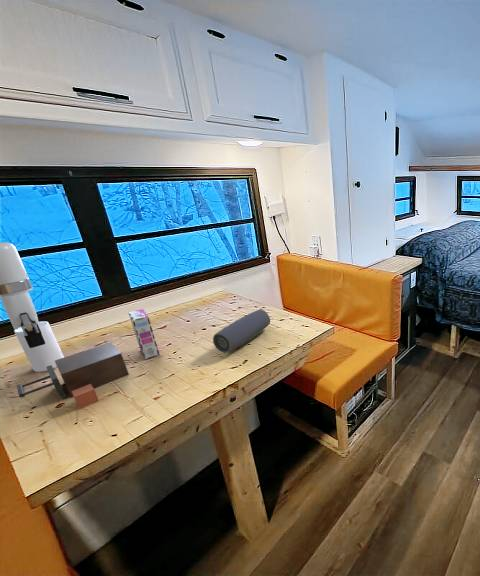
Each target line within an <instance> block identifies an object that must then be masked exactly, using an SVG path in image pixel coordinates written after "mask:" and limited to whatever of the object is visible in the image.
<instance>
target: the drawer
mask: <svg viewBox="0 0 480 576" xmlns="http://www.w3.org/2000/svg"><path fill="white" fill-rule="evenodd" d="M46 368H47V370H46V371H47V373H48V375H47V376H44V377H41V378H37V379H36V380H33V381H29V382H27V383H24V384H18V385H17V386H16V390H17V393H18V397H19V398H25V396H27V395H30V394H33V393H35V392H38V391H40V390H43V389H46V388H49V387H51V386H54V389H55V390H56V393H57V395H58V396H59V398H60V399H62V398H64V397H66V394H65V392H64V389H63V387H62V385H61V383H60V379H59V378H58V376H57V374H56V372H55V371H56V370H55V368H53V367H52V365H50V366H47V367H46ZM47 379H50V381H51V382H50V383H47V384H45V385H42V386H39V387H37V388H34V389H31V390H28V391H25V387H28V386H31V385H35V384H37V383H39V382H43V381H45V380H47Z"/></svg>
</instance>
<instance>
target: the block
mask: <svg viewBox="0 0 480 576" xmlns="http://www.w3.org/2000/svg"><path fill="white" fill-rule="evenodd" d="M71 392H72V394H73V396H74V397H73V398H74V400H75V402H76V404H77V407H78V409H79V410H81V409H83V408H86V407H89V406H90V405H93V404H95V403H98V402H99V401H100V400H99V397H98V395H97V393H96V391H95V388H93V387H92V385H91V384H89V385H86V386H84V387H81V388H78V389H76V390H73V391H71Z"/></svg>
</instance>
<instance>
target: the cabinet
mask: <svg viewBox="0 0 480 576" xmlns="http://www.w3.org/2000/svg"><path fill="white" fill-rule="evenodd" d="M55 363H56V365H57V367H56V368H57V369H58V372H59V374H60V376H61V378H62V381H63V383H64V385H65V386H66V388H67V389H66V390H67V391H68V394H69V395H70V398H74V396H73V394H72V392H71V391H73V390H76V389H78V388H81V387H84V386H86V385H89V384H91V385H92V387H93V388H94V389H96V388H99V387H101V386H103V385H106V384H108V383H109V384H110V383H112V382H114V381H116V380H118V379H121V378H124V377H127V376H128V375H130V373H129V371H128V367H127V366H126V363H125V359H124V357H123V355H122V352H121V351H119V349H118V348H117V347H116V345H114V343H113V342H112V341H111V342H108V343H103V344H101V345H98V346H94V347H91V348H89V349H86V350H82V351H79V352H77V353H73V354H71V355H66V356H64V358H61V359H58V360H55Z"/></svg>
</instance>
